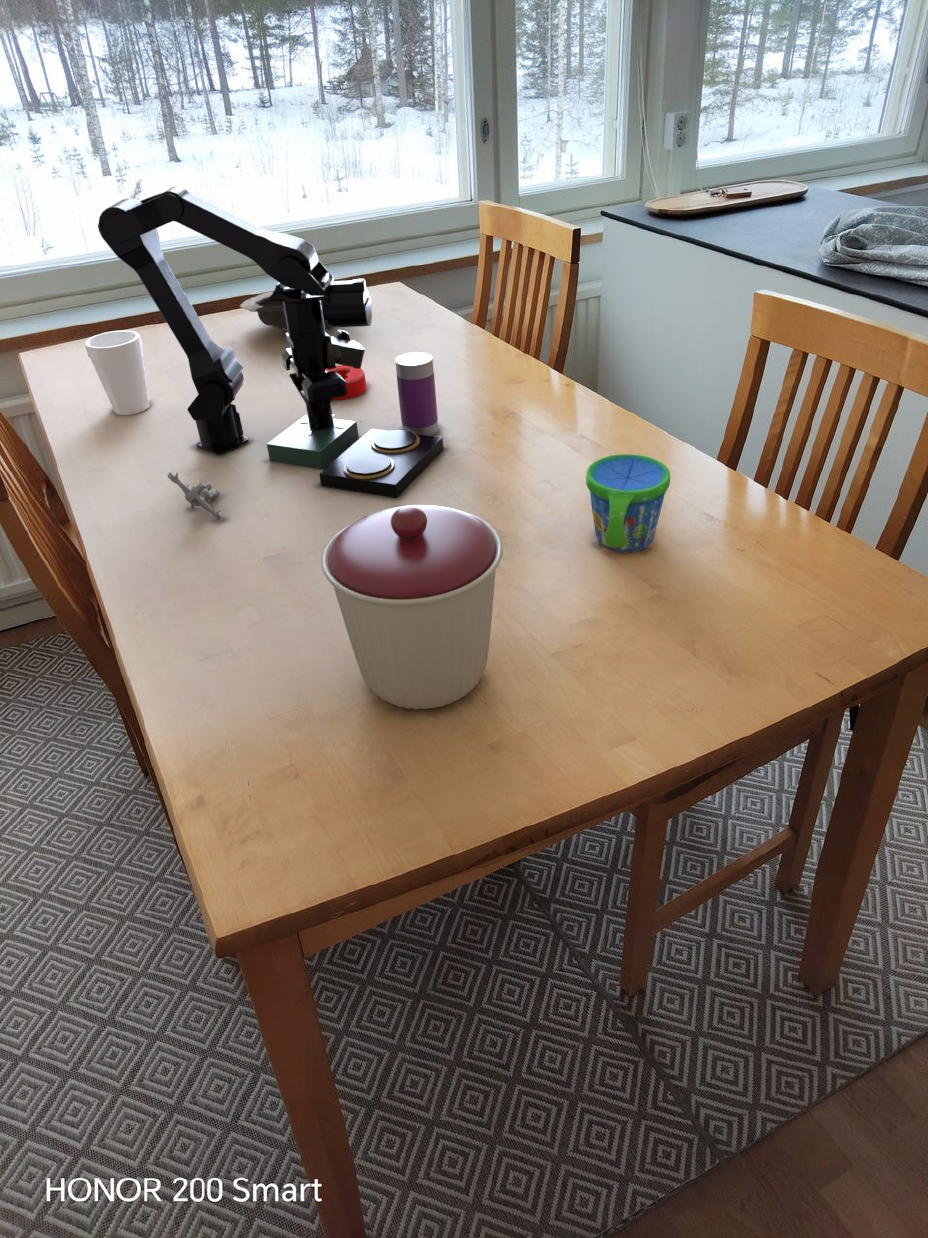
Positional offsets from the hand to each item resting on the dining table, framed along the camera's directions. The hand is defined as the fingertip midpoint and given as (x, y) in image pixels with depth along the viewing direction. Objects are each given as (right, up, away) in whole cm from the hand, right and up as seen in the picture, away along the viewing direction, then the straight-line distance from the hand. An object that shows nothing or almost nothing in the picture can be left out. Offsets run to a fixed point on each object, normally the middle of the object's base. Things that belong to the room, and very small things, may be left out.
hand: (321, 422), depth 150 cm
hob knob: (0, 0, 0) cm, 0 cm away
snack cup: (+45, -22, -29) cm, 58 cm away
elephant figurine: (-15, -17, -15) cm, 27 cm away
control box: (-1, -4, 0) cm, 5 cm away
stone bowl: (-13, +33, +53) cm, 64 cm away
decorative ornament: (0, +10, +21) cm, 23 cm away
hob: (+11, -9, -7) cm, 16 cm away
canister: (+19, -39, -50) cm, 66 cm away
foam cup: (-38, +7, +19) cm, 43 cm away
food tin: (+16, -1, +3) cm, 17 cm away
